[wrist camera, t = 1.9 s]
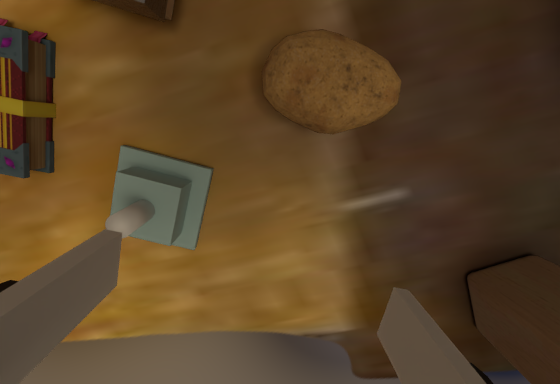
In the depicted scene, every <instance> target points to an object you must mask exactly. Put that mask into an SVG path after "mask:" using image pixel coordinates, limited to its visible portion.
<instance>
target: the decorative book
mask: <svg viewBox="0 0 560 384" xmlns="http://www.w3.org/2000/svg"><path fill="white" fill-rule="evenodd" d="M7 21H8V20H5V19H1V18H0V174H5V175H10V176H15V177H20V178H28V177H30V170H36V171H41V172H46V173H52V172H54V141H52V118H56V104H53V103H52V78H55V42H53V41H50V40H45V39H41V38H43V37H45V36H46V35H47V33H43V32H38V31H34V33H33V34H31V35H29V36H28V32H26V31H24V30H20V29H16V28H11V27H6V26H3V25H5V24H6V22H7Z"/></svg>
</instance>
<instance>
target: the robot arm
mask: <svg viewBox="0 0 560 384" xmlns="http://www.w3.org/2000/svg"><path fill="white" fill-rule="evenodd" d="M121 240H122V233H121V232H116V231H111V230H106V229H105V230H103V231H101V232H100V233H98V234H96V235H95V236H93V237H91V238H90V239H88V240H87V241H85V242H83V243H82V244H80V245H78V246H77V247H75V248H73V249H72V250H70V251H68V252H67V253H65V254H63V255H62V256H60V257H58V258H57V259H55V260H53V261H52V262H50V263H48V264H47V265H45V266H43V267H42V268H40V269H38V270H37V271H35V272H33V273H32V274H30V275H29V276H27V277H25V278H24V279H22V280H20V281H13V280H9V281H6V282H3V283H1V284H0V384H19V383H20V382H21V381H22V380H23V379H24V378H25V377H26V376H27V375H28V374H29V373H30V372H31V371H32V370H33V369H34V368H35V367H36V366H37V365H38V364H39V363H40V362H41V361H42V360H43V359H44V358H45V357H46V356H47V355H48V354H49V353H50V352H51V351H52V350H53V349H54V348H55V347H56V346H57V345H58V344H59V343H60V342H61V341H62V340H63V339H64V338H65V337H66V336H67V335H68V334H69V333H70V332H71V331H72V330H73V329H74V328H75V327H76V326H77V325H78V324H79V323H80V322H81V321H82V320H83V319H84V318H85V317H86V316H87V315H88V314H89V313H90V312H91V311H92V310H93V309H94V308H95V307H96V306H97V305H98V304H99V303H100V302H101V301H102V300H103V299H104V298H105V297H106V296H107V295H108V294H109V293H110V292H111V291H112V290H113V289H114V288H115V287H116V286H117V277H118V268H119V258H120V249H121ZM377 335H378V337H379V339H380V341H381V343H382V345H383V347H384V349H385V351H386V353H387V355H388V357H389V359H390V361H391V363H392V365H393V367H394V369H395V371H396V373H397V375H398V377H399V379H400V381H401V383H402V384H493V383H492V382H491V380H490V379H489V378H488V377H487V376H486V375H485V374H484V373H483V372H482V371H480V370H479V369H478V368H477V367H476V366H474V365H473V364H472V363H469V362H468V361H467V360H466V359H465V357H464V356H463V355H462V354H461V353H460V351H459V350H458V349H457V348H456V346H455V345H454V344H453V343H452V342H451V340H450V339H449V338H448V337H447V336H446V334H445V333H444V332H443V331H442V330H441V328H440V327H439V326H438V325H437V324H436V322H435V321H434V320H433V319H432V318H431V316H430V315H429V314H428V313H427V312H426V310H425V309H424V308H423V307H422V306H421V304H420V303H419V302H418V301H417V300H416V298H415V297H414V296H413V295H412V294H411V292H410V291H409V290H405V289H400V288H395V287H394V289H393V291H392V294H391V297H390V300H389V302H388V305H387V308H386V311H385V313H384V316H383V319H382V321H381V324H380V327H379V330H378V332H377Z"/></svg>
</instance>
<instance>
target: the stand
mask: <svg viewBox="0 0 560 384" xmlns="http://www.w3.org/2000/svg"><path fill="white" fill-rule="evenodd" d="M174 1H175V0H168V3H167V9H166V15H165V19H169V20H171V19H172V13H173V7H174Z"/></svg>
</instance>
